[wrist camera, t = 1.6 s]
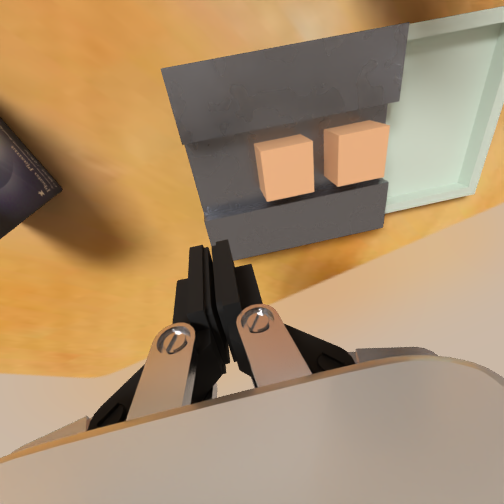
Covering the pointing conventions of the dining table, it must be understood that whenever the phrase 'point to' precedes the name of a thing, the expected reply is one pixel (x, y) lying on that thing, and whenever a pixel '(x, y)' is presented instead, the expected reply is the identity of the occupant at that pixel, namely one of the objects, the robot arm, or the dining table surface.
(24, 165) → the small box
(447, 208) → the dining table surface
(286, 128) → the slot block
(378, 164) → the chip
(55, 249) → the dining table surface
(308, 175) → the chip
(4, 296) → the dining table surface
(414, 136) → the tray
